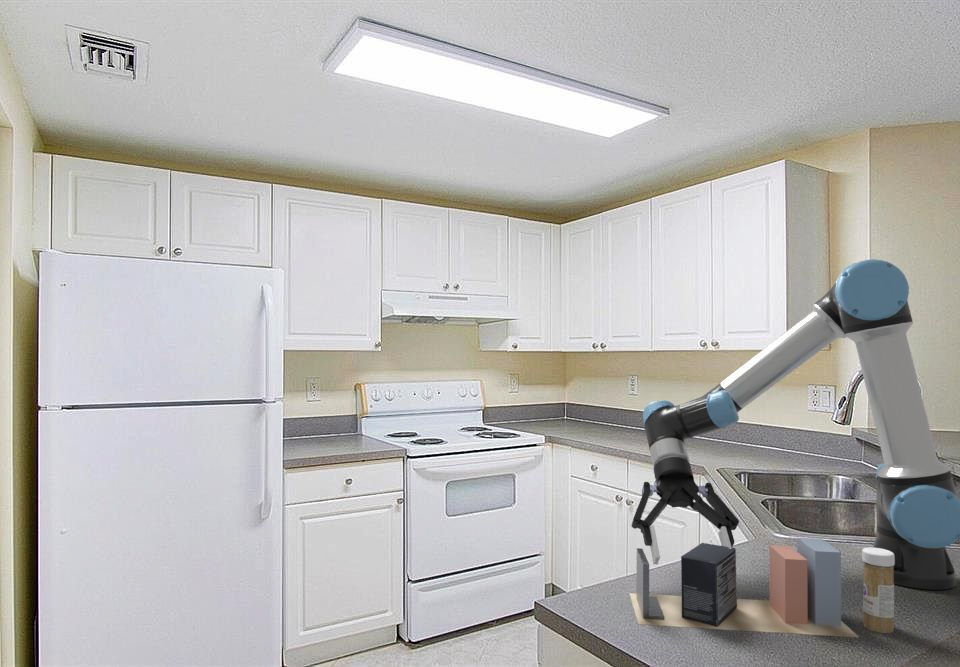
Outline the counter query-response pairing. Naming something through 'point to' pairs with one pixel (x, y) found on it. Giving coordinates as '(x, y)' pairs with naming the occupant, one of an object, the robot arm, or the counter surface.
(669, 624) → the shelf board
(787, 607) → the book
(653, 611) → the bookend
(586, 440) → the counter surface
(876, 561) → the sprinkles bottle
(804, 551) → the book
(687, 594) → the small box
